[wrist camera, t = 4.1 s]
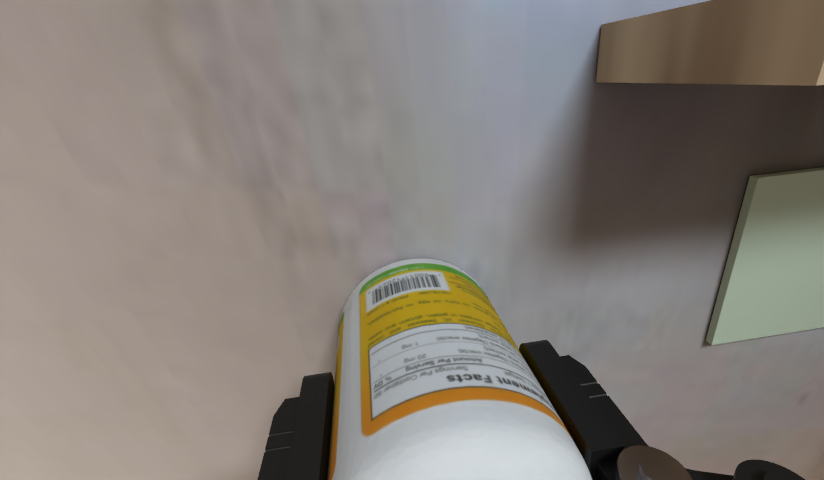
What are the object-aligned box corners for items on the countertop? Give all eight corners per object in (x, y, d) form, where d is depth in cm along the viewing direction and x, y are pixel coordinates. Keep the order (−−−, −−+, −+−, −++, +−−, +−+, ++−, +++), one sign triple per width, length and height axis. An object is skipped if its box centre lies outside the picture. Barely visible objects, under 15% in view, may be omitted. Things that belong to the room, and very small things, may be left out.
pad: (927, 154, 14) (938, 156, 14) (855, 316, 17) (863, 321, 16) (750, 175, 13) (758, 177, 13) (705, 340, 16) (711, 345, 16)
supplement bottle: (428, 399, 15) (525, 839, 6) (309, 342, 14) (218, 837, 5) (517, 301, 14) (789, 682, 5) (398, 224, 12) (502, 599, 3)
